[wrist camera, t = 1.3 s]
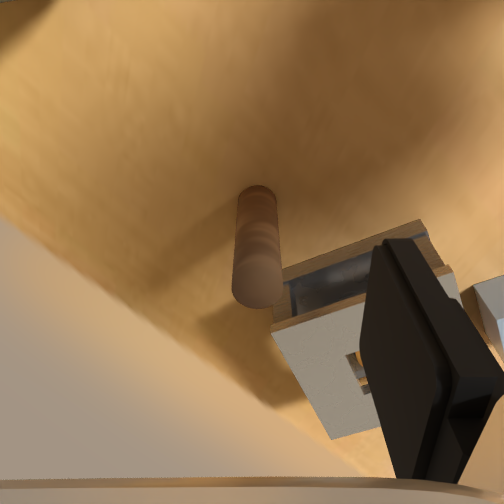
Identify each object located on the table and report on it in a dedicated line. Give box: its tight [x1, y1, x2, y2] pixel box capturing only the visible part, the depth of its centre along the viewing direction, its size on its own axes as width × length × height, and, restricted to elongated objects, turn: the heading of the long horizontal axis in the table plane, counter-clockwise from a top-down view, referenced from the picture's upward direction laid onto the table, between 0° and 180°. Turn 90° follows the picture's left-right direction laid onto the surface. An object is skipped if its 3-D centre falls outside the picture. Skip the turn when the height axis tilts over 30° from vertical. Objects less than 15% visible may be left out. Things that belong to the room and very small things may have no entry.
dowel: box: [232, 186, 283, 309], centre depth 34 cm, size 3×3×12 cm
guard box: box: [270, 219, 464, 440], centre depth 42 cm, size 14×14×8 cm
